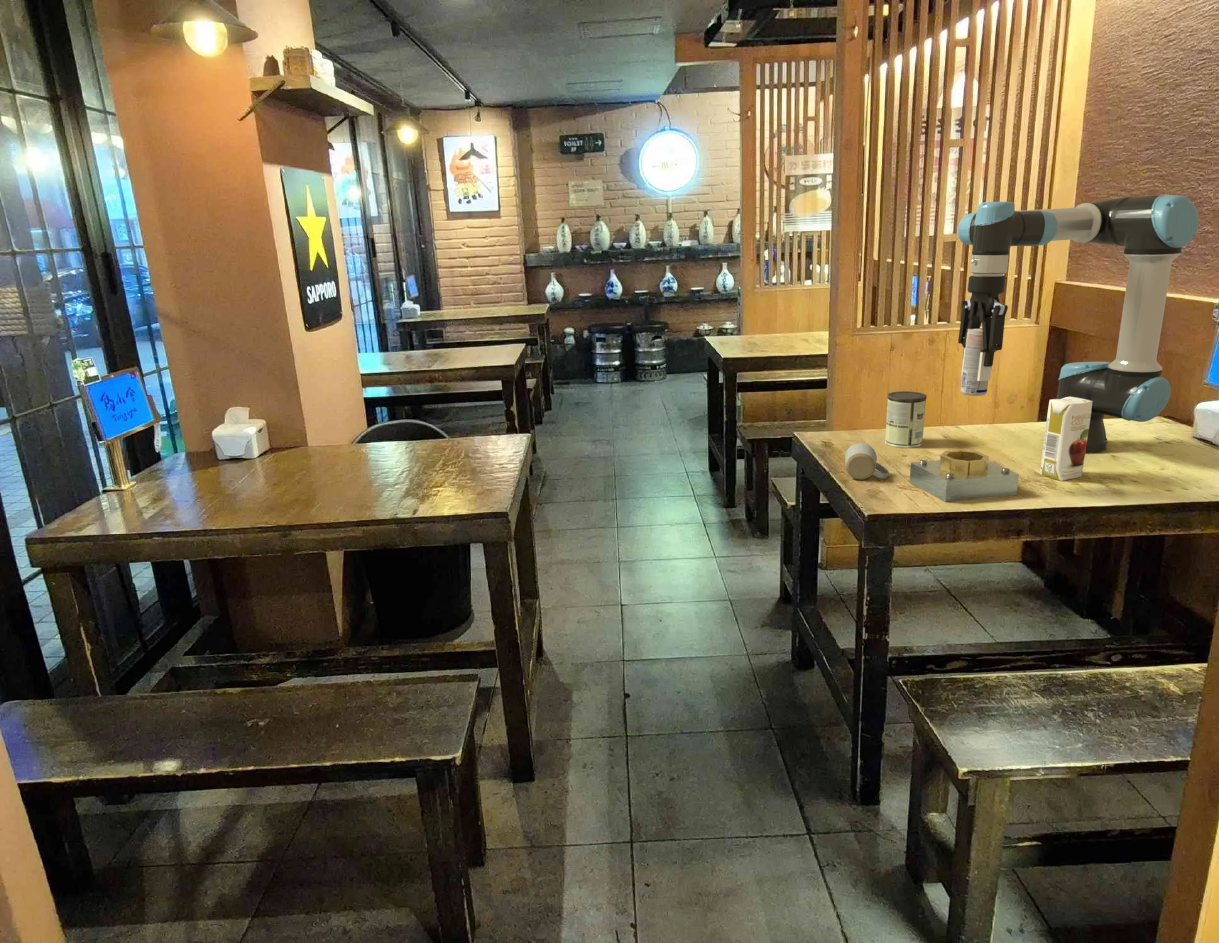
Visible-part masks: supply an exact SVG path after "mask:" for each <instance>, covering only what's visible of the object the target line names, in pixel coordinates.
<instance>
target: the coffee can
mask: <svg viewBox="0 0 1219 943" xmlns="http://www.w3.org/2000/svg"><path fill="white" fill-rule="evenodd" d="M927 397H928V396H927V395H926V394H925V393H922V392H918V391H906V390H905V391H903V390H902V391H894V392H893V391H892V392H889V393H887V404H886V405H887V408H886V418H885V419H886V420H885V421H886V422H885V423H886V424H885V437H884V438H885V439H884V443H885V445H886V446H889V447H894V448H899V449H900V448H901V449H915V448H919V447H921V446H923V444H924V443H923V441H924V428H925V416H926V415H925V414H926V404H927V403H926V402H927Z"/></svg>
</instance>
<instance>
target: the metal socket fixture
mask: <svg viewBox="0 0 1219 943" xmlns="http://www.w3.org/2000/svg"><path fill="white" fill-rule="evenodd" d="M1019 476H1020V473H1018V472H1015V471H1014V470H1013V471H1012V470H1010V468H1008V467H1003V466H1000V465H999V464H997V463H994V462H992V461H990V456H989V455H986V454H984V453H982V452H980V451H972V450H965V449H964V450H963V449H955V450H945V451H943V452H942V453H941V454H940V458H939V459H938V460H924V459H921V460H919V461H916V462H914V461H913V462H910V473H909V483H910V484H911V485H913V486H915V487H918V488H919V489H921V490H923V491H924V492H926V493H928V494H930V495H931V496H933V497H935V498H937V499H939V500H941V501H943V502H944V503H949V502H960V501H961V502H962V501H969V500H971V501H972V500H979V499H990V498H998V497H1008V496H1009V497H1011V496H1016V495H1017V494H1018V487H1019V486H1018V485H1019V479H1020V477H1019Z"/></svg>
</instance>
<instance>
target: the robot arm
mask: <svg viewBox="0 0 1219 943" xmlns="http://www.w3.org/2000/svg"><path fill="white" fill-rule="evenodd" d="M1015 207H1016V206H1015V203H1014V202H1013V201H985V202H981V203H979V205H978V206H977V207H976V208H977V209H976V211H975V212H971V213H967V214H966V215H964V216H962V218H961V219H960V220H959V221H960V222H959V224H958V226H957V236H958V239H959V240H960V242H961V243H963V244H964V245H967V246H969V245H970V246H972V250H971V259H970V268H969V273H970V274H972V275H970V276H969V277H968V283H967V291H968V293H970V294H971V296H970V298H969V300H962V302H961V319H960V326H959V332H958V340H957V342H958V344H961V345H962V346H961V347H962V348H963V350H962V352H963V354H962V364H961V365H962V367H961V374H960V375H961V377H962V374H963V365H964V356H965V347H966V338H967V332H968V329H978V328H981V327H982V331H983V350H980V351H981V353H980V361H979V370H978V378H977V381H988V382H989V381H991V375H992V367H993V365H994V358H995V353H996V352H998V351H1002V349H1003V341H1004V330H1005V322H1006V315H1007V312H1008V309H1009V306H1008V305H1007V304H1001V303H1000V302H1001V301H1000V294H1003V293H1004V292H1005V289H1006V282H1007V281H1006V280H1007V278H1006V276H1005V275H1004V274H1006V273H1008V266H1009V255H1010V248H1011V247H1037V246H1038V247H1039V246H1045V245H1047V244H1049V243H1051V242H1055V241H1071V240H1072V241H1073V242H1075V243H1078V244H1086V243H1087V244H1099V245H1108V246H1116V247H1117V246H1118V247H1124V248H1123V256H1124V257H1125V259H1126V260H1128V262H1129V266H1128V271H1127V278H1126V285H1125V293H1124V300H1123V306H1122V314H1121V319H1120V320H1121V321H1120V327H1119V335H1118V342H1117V347H1116V348H1117V349H1116V356H1115V359H1114V360H1113V361H1111V362H1110V361H1077V362H1069V363H1066V364H1063V366H1062V367H1061V368H1060V373H1059V377H1058V379H1057V381H1058V382H1057V383H1058V384H1057V392H1056V399H1062V398H1065V397H1069V396H1070V397H1076V398H1082V399H1086V400H1090V401H1092V410H1091V418H1090V424H1089V431H1088V438H1087V445H1086V451H1085V454H1089V453H1091V454H1092V453H1100V452H1101V453H1102V452H1103V451H1106V450H1107V448H1108V447H1107V446H1108V443H1109V442H1108V438H1107V433H1106V427H1105V423H1104V416H1105V415H1106V416H1109V417H1114V418H1118V419H1121V420H1124V421H1128V422H1131V421H1133V422H1138V423H1142V422H1143V423H1145V422H1149V421H1150V420H1153V419H1155V418H1156V417H1157V416H1159V414H1160V413H1161V412H1162V411H1163V410H1164V409H1165V407H1166V406H1167V404H1168V402H1169V400H1170V397H1171V394H1172V393H1171V389H1172V388H1171V385H1170V382H1169V380H1167V379H1166V378H1164V377H1163V376H1162V374H1163V366H1162V365H1161V364H1159V362H1158V352H1159V345H1160V338H1161V334H1162V327H1163V320H1164V315H1165V308H1166V301H1167V295H1168V289H1169V281H1170V276H1171V269H1172V264H1173V261H1174V260H1175V259H1176V258H1178V257H1180V255H1182V249H1183V247H1185V246H1187V245H1189V244H1190V243H1191V242H1193V240H1194V237H1195V236H1196V234H1197V233H1198V228H1199V213H1198V210H1197V206H1196V205H1195V204H1194V203H1193V201H1192V200H1191V199H1190V198H1189V197H1186V196H1184V195H1179V194H1178V195H1176V194H1162V195H1146V196H1145V195H1143V196H1141V195H1140V196H1123V197H1117V198H1111V199H1107V200H1099V201H1095V202H1094V201H1092V202H1084V203H1080V204H1078V205H1076V207H1067V208H1066V207H1065V208H1064V207H1063V208H1049V209H1048V208H1044V209H1029V210H1028V209H1027V210H1026V209H1024V210H1015ZM1044 437H1045V435H1044Z"/></svg>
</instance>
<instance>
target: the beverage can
mask: <svg viewBox="0 0 1219 943" xmlns="http://www.w3.org/2000/svg"><path fill="white" fill-rule="evenodd" d="M980 350H983V331H982V328H981V327H980V328H978V329H968V332H967V338H966V347H965V356H964V365H963V364H962V365H963V374H962V373H961V374H962V376H961V384H960V385H961V386H960V393H961V394H963V395H966V396H972V397H980V396H986V394H988V386H989V381H977V378H978V370H979V361H980V353H981V351H980Z"/></svg>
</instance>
